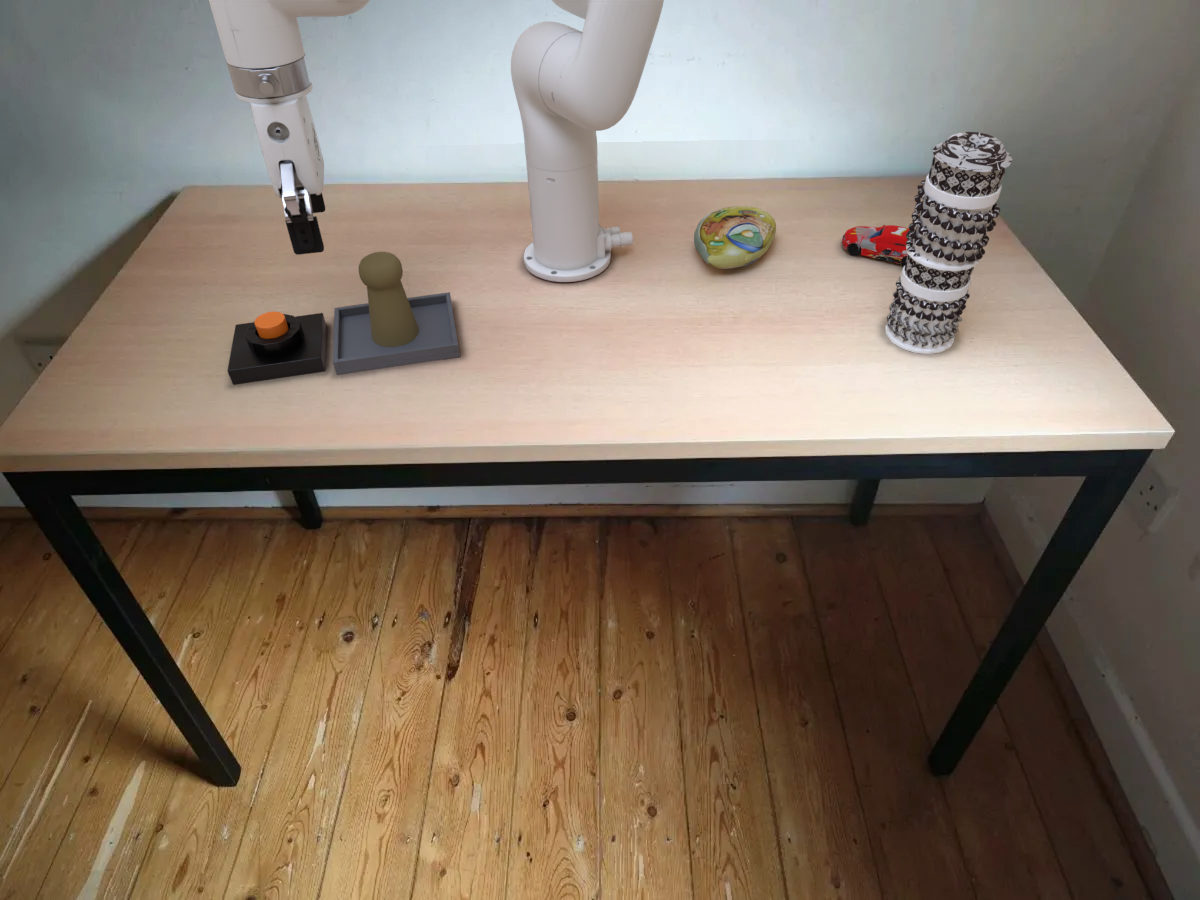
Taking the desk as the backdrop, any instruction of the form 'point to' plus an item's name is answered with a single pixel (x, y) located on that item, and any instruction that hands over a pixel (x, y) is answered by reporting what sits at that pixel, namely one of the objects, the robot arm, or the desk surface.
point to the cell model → (734, 236)
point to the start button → (271, 325)
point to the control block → (279, 350)
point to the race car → (878, 242)
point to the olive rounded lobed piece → (387, 300)
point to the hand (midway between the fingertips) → (311, 231)
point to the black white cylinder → (946, 241)
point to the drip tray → (430, 345)
